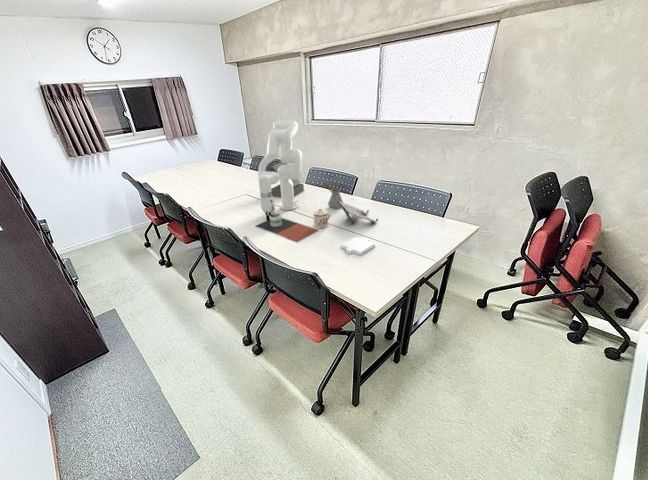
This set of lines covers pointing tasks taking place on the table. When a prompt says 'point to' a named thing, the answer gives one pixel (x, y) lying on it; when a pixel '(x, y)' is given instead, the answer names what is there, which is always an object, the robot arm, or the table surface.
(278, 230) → the felt runner
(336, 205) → the coffee pot
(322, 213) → the teacup with lid
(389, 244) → the table surface
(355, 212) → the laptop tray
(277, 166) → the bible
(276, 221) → the cup
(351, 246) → the mounting plate
